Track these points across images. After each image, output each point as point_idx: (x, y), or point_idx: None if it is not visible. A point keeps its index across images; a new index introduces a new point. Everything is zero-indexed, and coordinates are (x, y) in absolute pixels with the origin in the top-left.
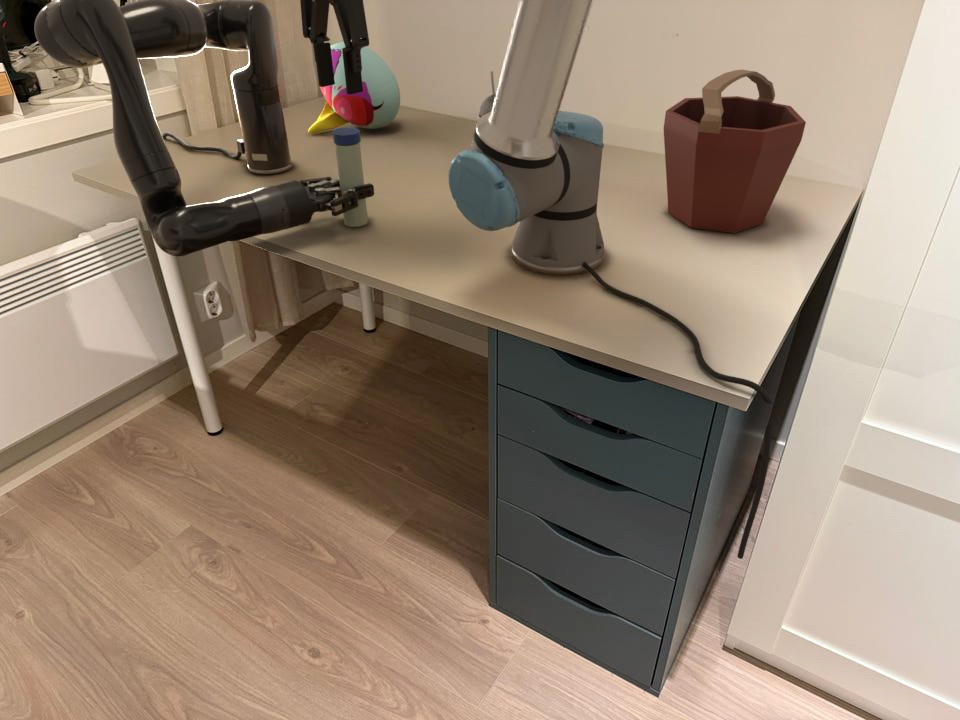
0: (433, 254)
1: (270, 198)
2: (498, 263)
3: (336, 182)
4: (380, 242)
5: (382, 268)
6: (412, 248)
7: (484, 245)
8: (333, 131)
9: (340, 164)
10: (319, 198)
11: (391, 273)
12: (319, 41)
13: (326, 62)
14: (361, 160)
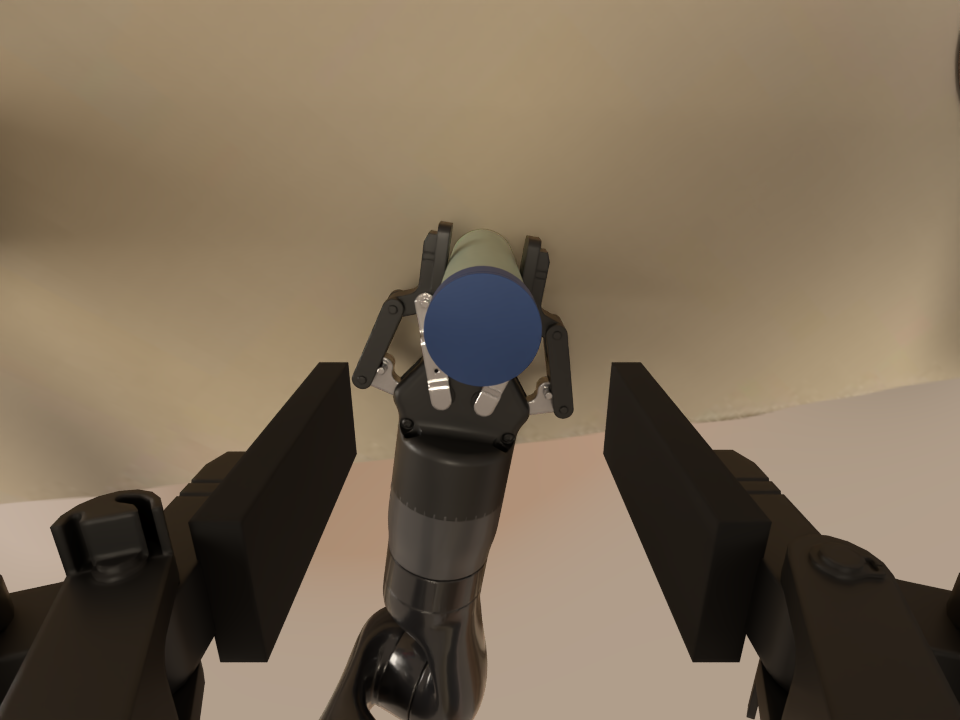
0: (778, 256)
1: (479, 545)
2: (951, 180)
3: None
4: (624, 298)
5: (723, 379)
6: (713, 267)
7: (866, 122)
8: (444, 368)
9: None
10: (512, 419)
11: (755, 381)
12: (195, 623)
13: (309, 479)
14: (515, 270)
